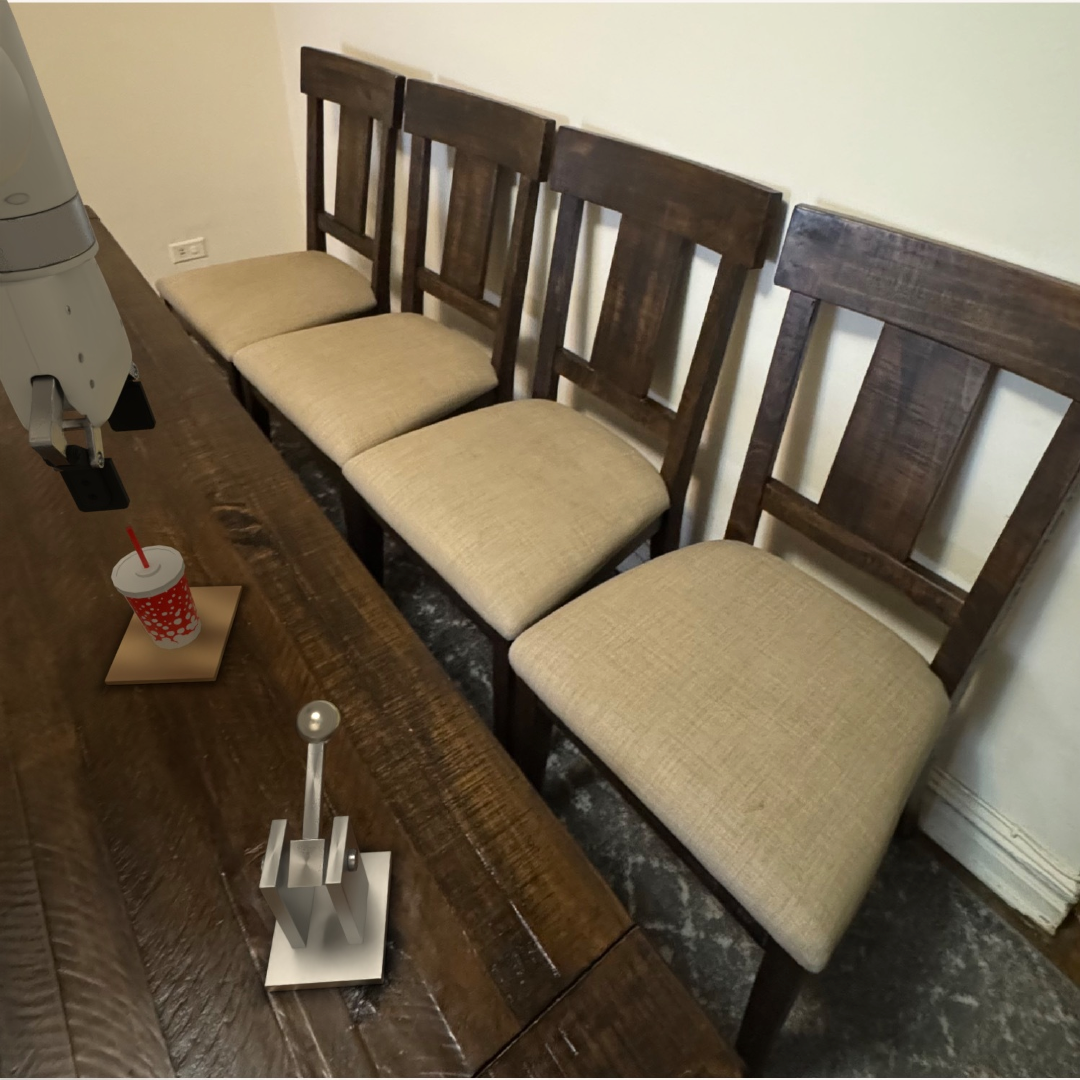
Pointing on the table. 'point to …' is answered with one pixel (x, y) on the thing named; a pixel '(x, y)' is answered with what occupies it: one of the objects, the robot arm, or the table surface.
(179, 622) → the beverage cup
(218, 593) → the drip mat
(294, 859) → the grey lever handle
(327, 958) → the faucet base
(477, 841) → the table surface
